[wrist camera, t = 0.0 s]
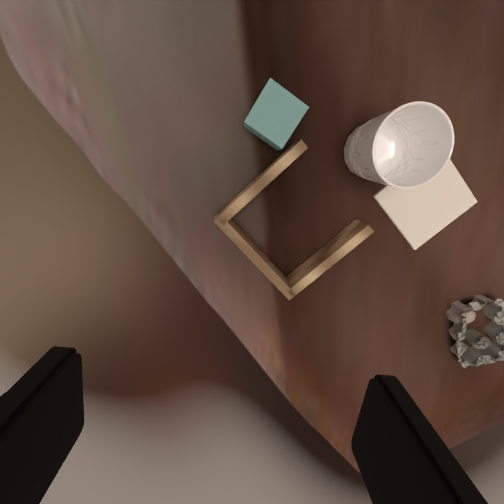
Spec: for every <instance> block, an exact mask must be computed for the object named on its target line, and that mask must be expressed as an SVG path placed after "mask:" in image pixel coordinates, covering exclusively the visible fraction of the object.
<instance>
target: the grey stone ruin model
mask: <svg viewBox="0 0 504 504" xmlns="http://www.w3.org/2000/svg"><path fill="white" fill-rule="evenodd" d="M487 301H490V303H489V304H488V305H486V306H485V304H486V302H487ZM483 306H485V307H484V309H483V315H484V316H486V317H487V318H489V319H490V320H491V323H489V324H487V325H486V327H485V329H484V332H485V333H486V334H487V335H488V336H490V337H491V338H493V340H491V341H490V340H489V339H488V338H487V337H486V336H484V335H483V334H482V333H480V332H479V331H477V330H476V329H474V328H470V329H468V330H467V328H466V326H467V323H470V322H472V321H473V320H474V319H475V317H476V313H475V312H474V311H478V310H480V309H481V308H482V307H483ZM446 316H447V317H448V319H449V320H451V321H453V322H454V324H453V326H452V327H451V328H450V329H448V331H449V333H450V335H451V336H452V338H453V339H455V340H456V343H455V344H454V345H453V346H451V352H453V353H455V354H456V355H457V357H458V358H459V360H458V361H459V362H460V363H461V364H462V367H463V368H467V366H468V365H474V366H479V365H480V364H488V363H495V361H497V360H501V361H502V360H504V301H503V300H502V299H497V300H496V301H493V300H491V299H490V298H487V297H485V296H483V295H481V294H479V295H475V296H474V298H473V300H472V302H471V303H469V304H467V305H464V304H463V303H461V302H460V301H455V302H452V305H451V307H450V309H449V310H447V311H446ZM463 339H465V340H466V341H467V342H468V343H469V344H470V345H472V346H470V347H469V348H468V346H467V345H466V344H464V343H463V342H462V341H461V340H463ZM466 349H467V350H466ZM465 350H466V352H465ZM464 352H465V354H463V353H464ZM462 354H463V355H462Z"/></svg>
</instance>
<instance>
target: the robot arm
mask: <svg viewBox="0 0 504 504" xmlns="http://www.w3.org/2000/svg"><path fill="white" fill-rule="evenodd" d="M82 384H83V382H82V360H81V355H80V354H79V353H76V349H75V348H69V347H57V346H55V347H52V348H51V349H50V350H49V351H48V352H47V353H46V354H45V355H44V356H43V357H42V358H41V359H40V360H39V361H38V362H37V363H36V364H35V365H34V366H32V367H31V368H30V369H29V370H28V371H27V372H26V373H25V374H24V375H23V376H22V377H21V378H20V379H19V380H18V381H17V382H16V383H15V384H14V385H13V386H12V387H11V388H10V389H9V390H8V391H7V392H6V393H4V394H3V395H2V396H0V504H39V503H40V502H41V500H42V498H43V497H44V495H45V493H46V491H47V490H48V488H49V486H50V485H51V483H52V481H53V480H54V478H55V476H56V474H57V473H58V471H59V469H60V468H61V466H62V464H63V462H64V461H65V459H66V457H67V455H68V454H69V452H70V451H71V449H72V447H73V445H74V444H75V442H76V440H77V439H78V437H79V435H80V433H81V431H82V428H83V425H84V405H83V385H82ZM351 444H352V451H353V454H354V457H355V459H356V462H357V464H358V467H359V469H360V472H361V475H362V477H363V480H364V482H365V485H366V487H367V490H368V493H369V495H370V498H371V500H372V503H373V504H488V503H487V502H486V500H485V499H484V498H483V496H482V495H481V494H480V492H479V491H478V489H477V488H476V487H475V485H474V484H473V482H472V481H471V480H470V478H469V477H468V475H467V474H466V473H465V471H464V470H463V469H462V467H461V466H460V464H459V463H458V462H457V460H456V459H455V457H454V456H453V455H452V453H451V452H450V450H449V449H448V448H447V446H446V445H445V444H444V442H443V441H442V439H441V438H440V437H439V435H438V434H437V432H436V431H435V430H434V428H433V427H432V426H431V424H430V423H429V421H428V420H427V419H426V417H425V416H424V415H423V413H422V412H421V410H420V409H419V408H418V406H417V405H416V403H415V402H414V401H413V399H412V398H411V397H410V395H409V394H408V392H407V391H406V390H405V388H404V387H403V385H402V384H401V383H400V381H399V380H398V379H397V378H396V377H395V376H389V375H376V376H375V377H374V379H371V380H370V381H369V384H368V387H367V390H366V394H365V397H364V400H363V404H362V407H361V410H360V414H359V417H358V420H357V423H356V427H355V430H354V433H353V437H352V442H351Z"/></svg>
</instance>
